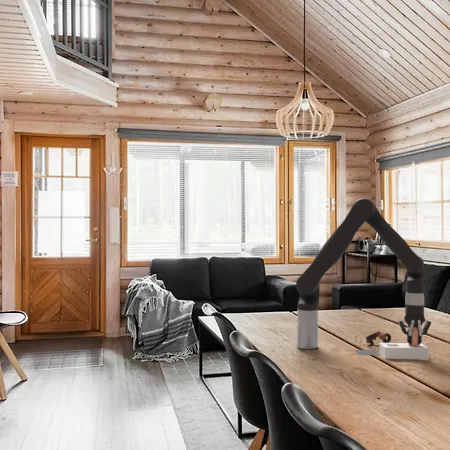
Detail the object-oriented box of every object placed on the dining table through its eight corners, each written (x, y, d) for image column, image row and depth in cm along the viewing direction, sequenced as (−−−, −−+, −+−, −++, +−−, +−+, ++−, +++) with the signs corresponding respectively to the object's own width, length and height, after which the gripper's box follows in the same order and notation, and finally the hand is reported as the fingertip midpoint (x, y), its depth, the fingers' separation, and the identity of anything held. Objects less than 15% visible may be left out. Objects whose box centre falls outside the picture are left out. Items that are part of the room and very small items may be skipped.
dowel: (411, 352, 228) (411, 328, 228) (409, 350, 231) (409, 327, 231) (419, 352, 228) (419, 328, 228) (416, 350, 231) (416, 327, 231)
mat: (358, 355, 232) (358, 354, 232) (354, 350, 241) (354, 349, 241) (379, 356, 231) (379, 355, 231) (374, 351, 240) (374, 350, 240)
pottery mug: (378, 351, 242) (370, 334, 244) (368, 356, 250) (360, 340, 253) (399, 342, 247) (390, 325, 249) (388, 347, 255) (379, 331, 257)
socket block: (384, 359, 225) (384, 347, 225) (379, 354, 234) (379, 342, 234) (428, 360, 225) (428, 348, 225) (421, 355, 234) (421, 343, 234)
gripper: (400, 304, 226) (400, 346, 226) (434, 304, 225) (434, 346, 225) (395, 301, 233) (395, 342, 233) (428, 302, 233) (428, 342, 233)
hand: (414, 344), depth 229 cm, fingers closed on dowel, 3 cm apart
